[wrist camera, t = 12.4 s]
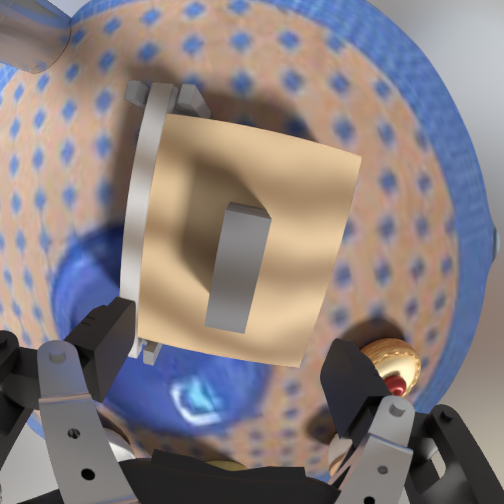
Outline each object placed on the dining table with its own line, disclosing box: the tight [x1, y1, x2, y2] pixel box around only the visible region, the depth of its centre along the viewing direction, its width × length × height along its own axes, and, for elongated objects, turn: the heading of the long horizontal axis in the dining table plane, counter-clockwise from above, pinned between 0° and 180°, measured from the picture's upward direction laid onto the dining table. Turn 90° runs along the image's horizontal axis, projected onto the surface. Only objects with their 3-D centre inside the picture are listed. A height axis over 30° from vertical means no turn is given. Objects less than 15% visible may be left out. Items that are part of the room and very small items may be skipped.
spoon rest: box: [103, 428, 136, 462], centre depth 38 cm, size 24×12×7 cm, turn 8°
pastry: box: [360, 338, 421, 398], centre depth 34 cm, size 12×12×9 cm
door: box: [120, 82, 362, 367], centre depth 21 cm, size 25×18×6 cm
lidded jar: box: [327, 433, 352, 476], centre depth 38 cm, size 11×11×9 cm
